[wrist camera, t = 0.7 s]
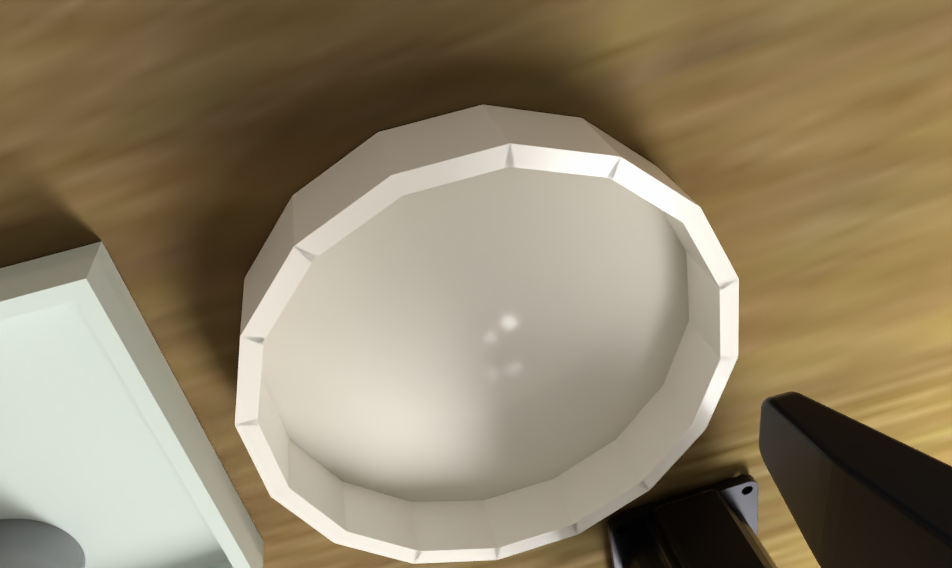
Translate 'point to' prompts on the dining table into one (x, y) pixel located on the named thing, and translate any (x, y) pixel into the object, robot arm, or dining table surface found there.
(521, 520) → the bowl
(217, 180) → the dining table surface
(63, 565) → the grey rounded cylinder
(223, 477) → the tray
